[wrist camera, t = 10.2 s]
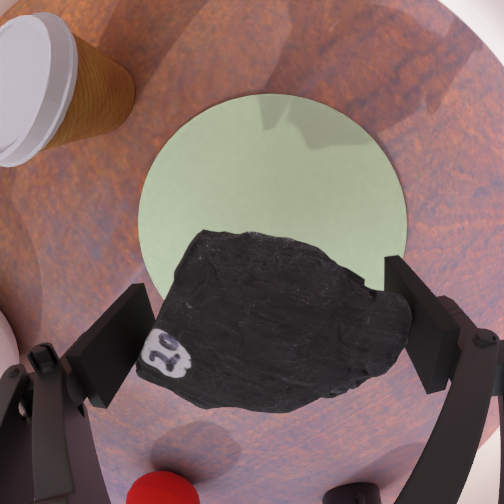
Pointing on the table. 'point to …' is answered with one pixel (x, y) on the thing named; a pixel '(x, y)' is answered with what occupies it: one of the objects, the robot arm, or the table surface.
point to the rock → (269, 325)
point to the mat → (273, 185)
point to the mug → (353, 494)
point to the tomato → (162, 490)
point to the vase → (7, 346)
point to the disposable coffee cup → (55, 88)
